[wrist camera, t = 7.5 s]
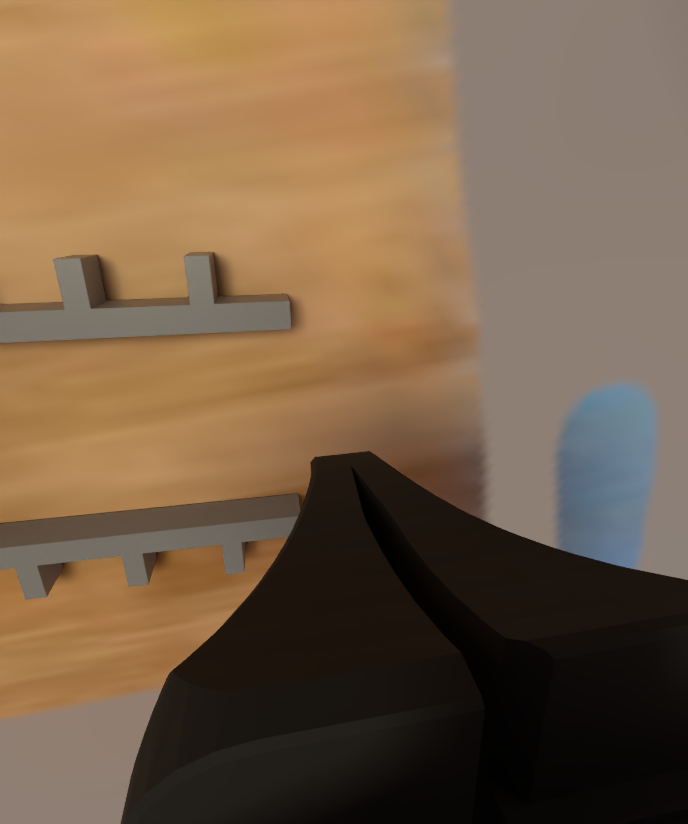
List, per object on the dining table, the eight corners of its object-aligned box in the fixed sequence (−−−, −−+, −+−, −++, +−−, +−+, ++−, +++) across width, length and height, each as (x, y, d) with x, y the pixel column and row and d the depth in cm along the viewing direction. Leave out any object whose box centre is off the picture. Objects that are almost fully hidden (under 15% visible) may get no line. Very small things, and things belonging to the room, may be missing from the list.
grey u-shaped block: (300, 540, 23) (306, 587, 20) (-192, 597, 20) (-269, 662, 17) (284, 250, 18) (289, 256, 15) (-376, 265, 15) (-533, 276, 12)
